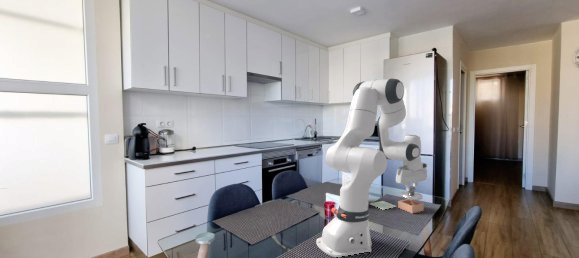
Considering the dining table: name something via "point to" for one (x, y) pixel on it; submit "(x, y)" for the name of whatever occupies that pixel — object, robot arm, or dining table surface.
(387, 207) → the mat
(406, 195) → the lid
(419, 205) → the orange open box
